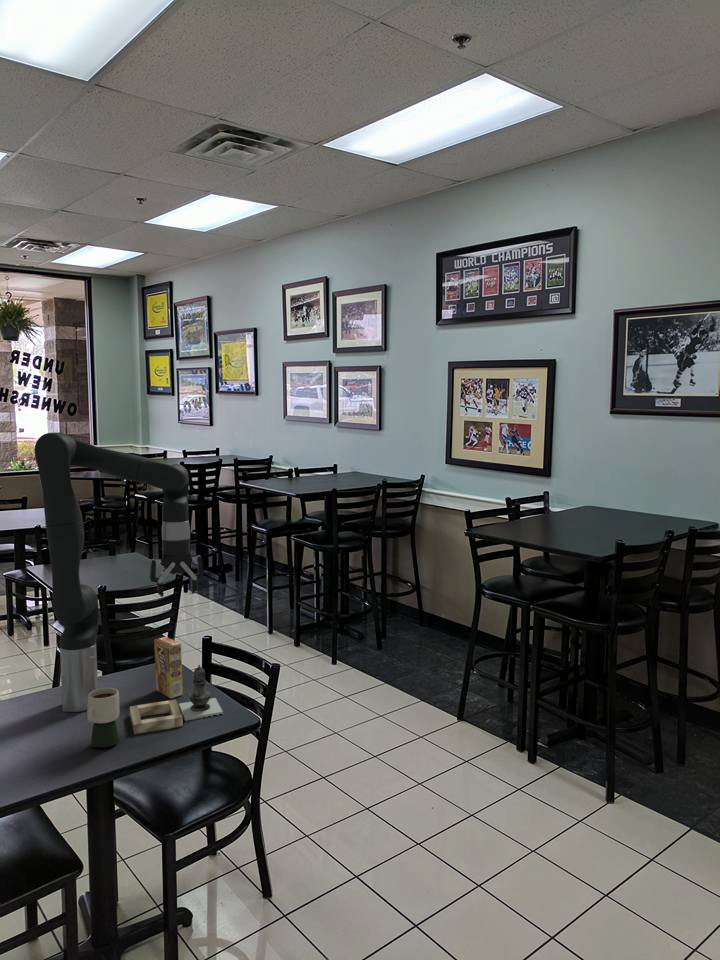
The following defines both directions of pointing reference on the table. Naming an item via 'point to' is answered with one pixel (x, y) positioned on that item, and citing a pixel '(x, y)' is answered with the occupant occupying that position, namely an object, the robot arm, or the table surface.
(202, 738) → the table surface
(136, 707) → the beige square frame
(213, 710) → the coaster
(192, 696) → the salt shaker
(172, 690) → the candy box
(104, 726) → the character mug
